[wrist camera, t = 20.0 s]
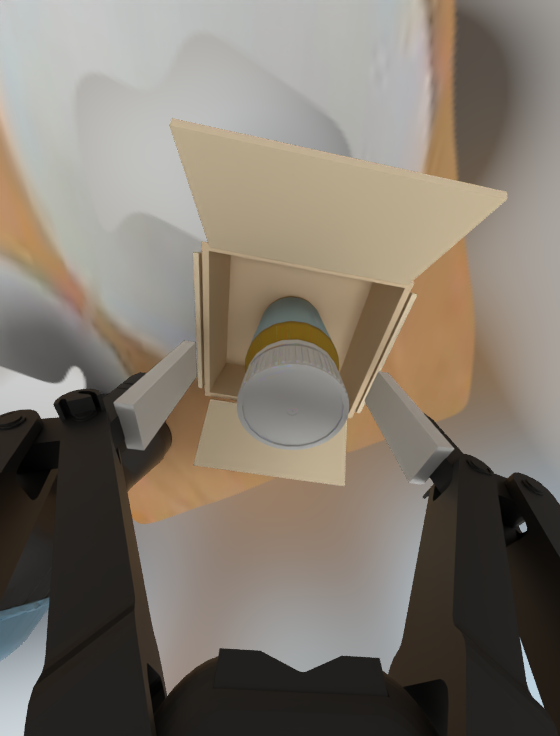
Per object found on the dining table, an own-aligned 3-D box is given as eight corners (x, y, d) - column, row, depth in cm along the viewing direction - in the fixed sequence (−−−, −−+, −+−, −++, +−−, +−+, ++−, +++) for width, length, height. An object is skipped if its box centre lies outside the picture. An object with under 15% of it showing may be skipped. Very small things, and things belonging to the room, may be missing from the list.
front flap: (507, 199, 9) (506, 191, 9) (169, 125, 8) (172, 118, 8) (407, 285, 15) (407, 280, 15) (209, 247, 14) (210, 242, 14)
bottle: (331, 311, 23) (386, 388, 10) (303, 360, 26) (317, 467, 13) (275, 283, 22) (255, 330, 9) (252, 339, 25) (213, 433, 12)
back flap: (193, 465, 19) (194, 464, 19) (344, 486, 20) (343, 485, 20) (210, 399, 21) (211, 399, 21) (346, 420, 22) (345, 420, 22)
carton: (218, 362, 28) (198, 394, 21) (220, 243, 21) (191, 239, 15) (343, 383, 28) (357, 419, 22) (385, 275, 22) (423, 284, 15)
